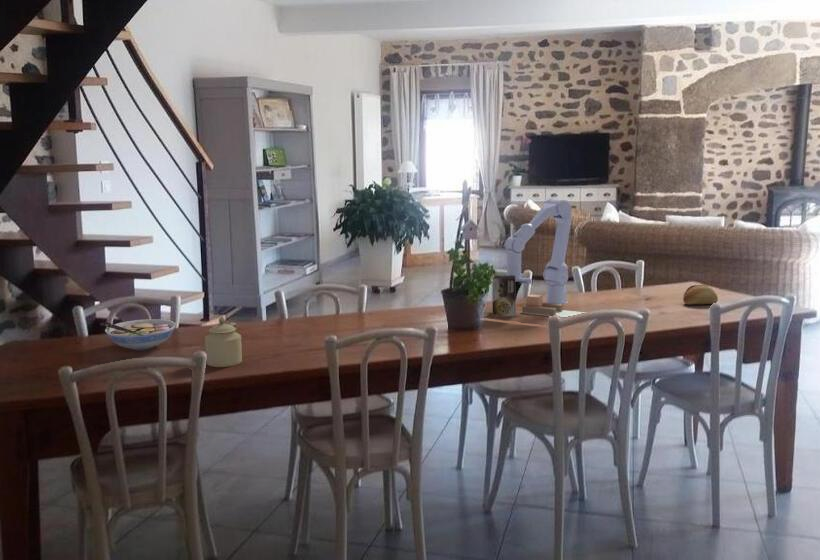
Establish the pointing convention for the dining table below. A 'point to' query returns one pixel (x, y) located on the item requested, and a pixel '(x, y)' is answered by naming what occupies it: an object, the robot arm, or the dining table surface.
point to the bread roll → (700, 295)
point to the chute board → (548, 310)
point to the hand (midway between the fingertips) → (513, 299)
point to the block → (534, 300)
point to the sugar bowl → (223, 345)
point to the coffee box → (503, 295)
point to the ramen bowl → (140, 333)
